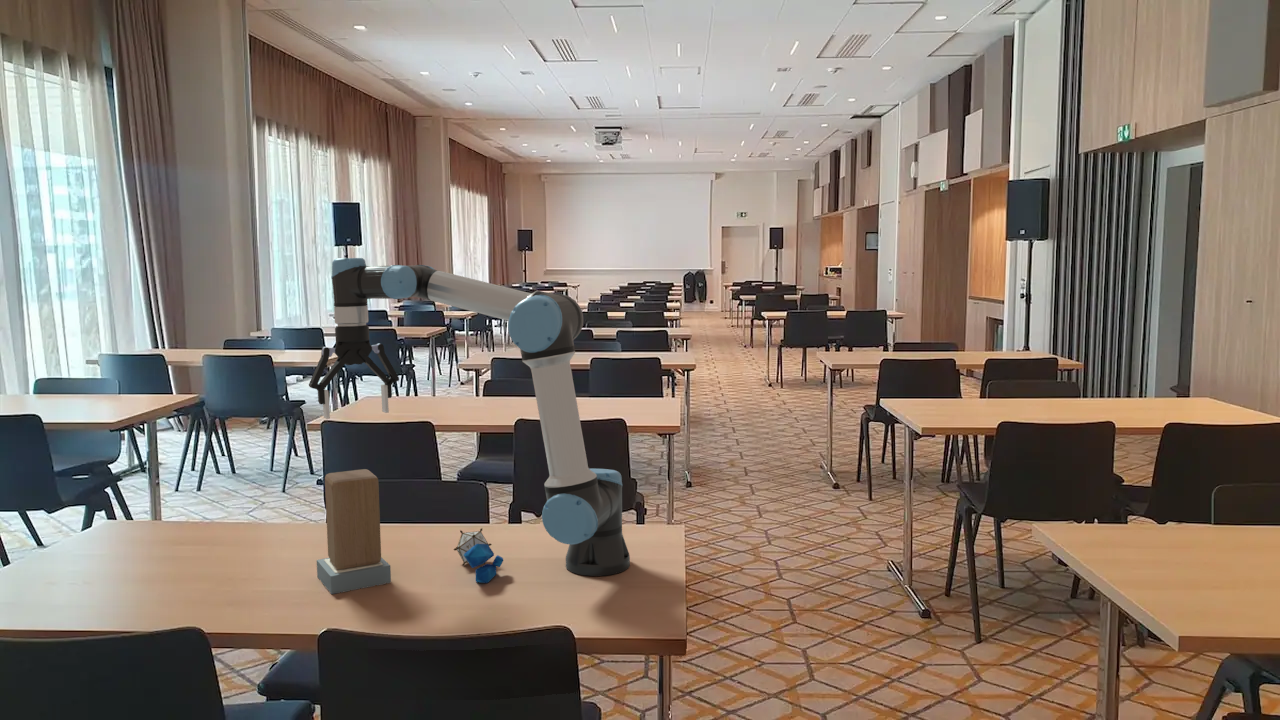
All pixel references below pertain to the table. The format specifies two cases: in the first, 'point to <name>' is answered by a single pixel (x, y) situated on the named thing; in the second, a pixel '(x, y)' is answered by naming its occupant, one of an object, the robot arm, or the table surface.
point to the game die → (469, 542)
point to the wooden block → (353, 518)
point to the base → (352, 575)
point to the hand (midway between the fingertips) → (356, 415)
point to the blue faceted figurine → (480, 556)
